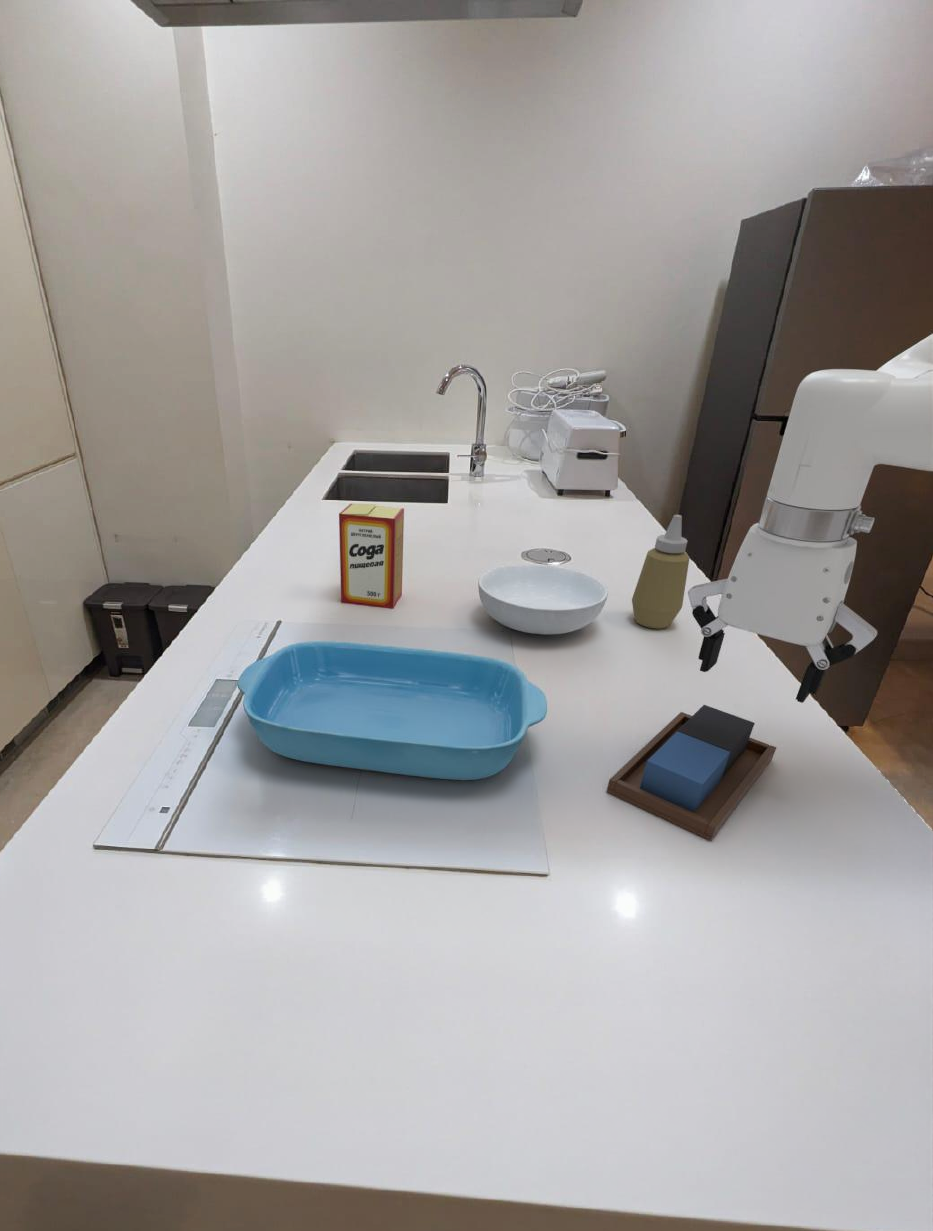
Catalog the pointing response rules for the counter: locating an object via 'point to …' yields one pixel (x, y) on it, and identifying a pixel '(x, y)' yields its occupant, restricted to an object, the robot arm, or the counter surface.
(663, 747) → the blue rectangular block
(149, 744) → the counter surface
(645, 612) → the squeeze bottle
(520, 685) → the casserole dish
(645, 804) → the brown wooden tray
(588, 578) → the serving bowl
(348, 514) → the baking soda box
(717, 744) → the black block
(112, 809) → the counter surface
